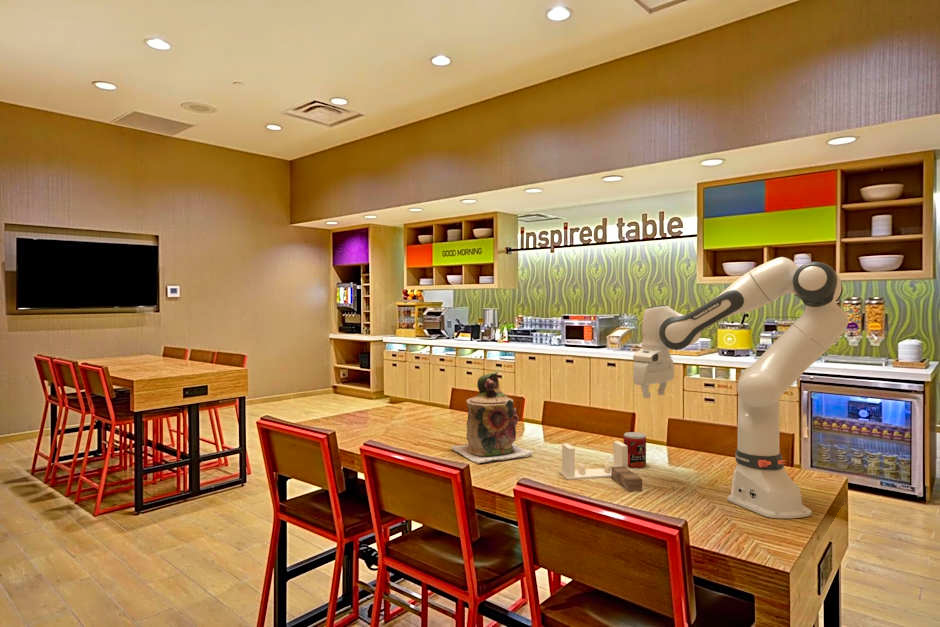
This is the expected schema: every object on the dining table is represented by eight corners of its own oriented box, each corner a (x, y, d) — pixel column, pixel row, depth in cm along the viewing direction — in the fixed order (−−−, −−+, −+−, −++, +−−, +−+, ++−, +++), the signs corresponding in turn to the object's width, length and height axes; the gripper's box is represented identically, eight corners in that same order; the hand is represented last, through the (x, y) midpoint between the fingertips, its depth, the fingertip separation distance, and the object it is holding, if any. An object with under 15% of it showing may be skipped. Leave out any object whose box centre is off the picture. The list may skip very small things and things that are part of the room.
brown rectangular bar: (642, 492, 180) (642, 479, 180) (628, 492, 180) (628, 479, 180) (624, 478, 194) (624, 466, 194) (611, 479, 194) (611, 466, 193)
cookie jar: (449, 450, 231) (448, 369, 230) (502, 443, 242) (502, 365, 242) (478, 465, 209) (478, 376, 209) (536, 457, 221) (535, 372, 220)
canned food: (631, 469, 204) (631, 437, 203) (619, 463, 211) (619, 432, 211) (650, 467, 206) (650, 436, 205) (638, 461, 213) (638, 431, 213)
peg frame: (620, 469, 204) (620, 440, 203) (630, 476, 196) (630, 446, 195) (559, 472, 200) (559, 443, 200) (567, 479, 192) (567, 449, 192)
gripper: (662, 351, 202) (660, 391, 202) (630, 355, 188) (628, 398, 188) (679, 353, 197) (678, 394, 198) (648, 357, 183) (646, 401, 184)
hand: (653, 396), depth 193 cm, fingers open, 8 cm apart
